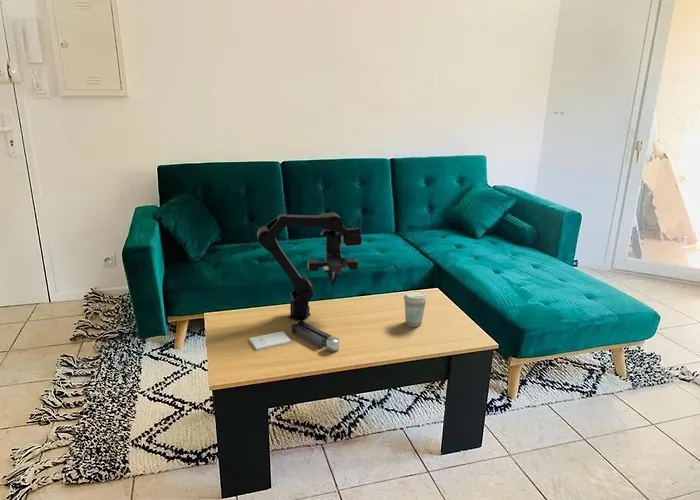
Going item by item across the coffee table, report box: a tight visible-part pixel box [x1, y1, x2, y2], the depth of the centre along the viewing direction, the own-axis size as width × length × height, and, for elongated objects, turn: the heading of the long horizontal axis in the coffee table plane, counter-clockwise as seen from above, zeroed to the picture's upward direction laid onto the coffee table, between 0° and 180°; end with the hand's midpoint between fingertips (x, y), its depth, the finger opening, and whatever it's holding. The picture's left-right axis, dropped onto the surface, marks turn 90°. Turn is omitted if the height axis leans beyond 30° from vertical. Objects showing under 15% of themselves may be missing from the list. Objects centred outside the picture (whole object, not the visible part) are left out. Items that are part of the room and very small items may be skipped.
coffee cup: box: [403, 290, 428, 328], centre depth 198 cm, size 8×8×12 cm
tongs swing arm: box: [296, 320, 340, 352], centre depth 184 cm, size 21×5×3 cm, turn 46°
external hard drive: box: [248, 330, 292, 351], centre depth 184 cm, size 2×8×12 cm
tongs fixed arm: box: [291, 322, 326, 349], centre depth 185 cm, size 16×2×3 cm, turn 45°
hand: (332, 285), depth 202 cm, fingers closed
